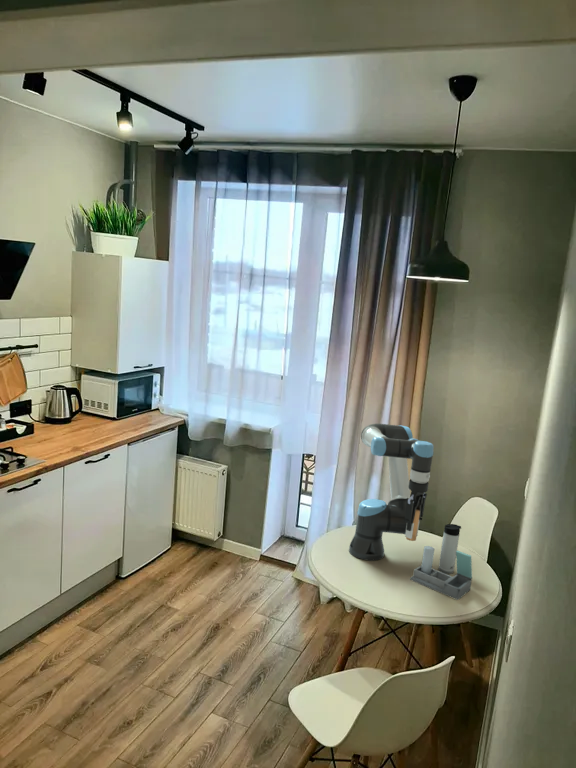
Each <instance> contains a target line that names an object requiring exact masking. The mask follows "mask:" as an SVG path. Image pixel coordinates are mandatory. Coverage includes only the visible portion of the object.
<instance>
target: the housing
mask: <svg viewBox="0 0 576 768" xmlns="http://www.w3.org/2000/svg"><path fill="white" fill-rule="evenodd" d="M421 567H422V564H421V565H419V566H418V567H416V568H414V569H413V575H412V576H410V579H409V580H410V581H412V582H415V583H417V584H418V585H422V586H424V587H426V588H429V589H431V590H434V591H436V592H438V593H441V594H443V595H445V596H448V597H450V598H452V599H455V600H457V601H458V600H460V599H461V598H462V597H464V595H466V594H468V592H469V591H470V590H471V588H472V587H471V586H472V581H473V580H472V579H469V578H466V577H463V576H461V575H458V574H457V573H456V574H455V575H454V576H452V575H451V574H447V573H443V572H441V571H440V570H437V569H435V568H432V570H431V574H430V575H428V574H426V573H423V572H421Z"/></svg>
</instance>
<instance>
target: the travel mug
mask: <svg viewBox="0 0 576 768" xmlns="http://www.w3.org/2000/svg"><path fill="white" fill-rule="evenodd" d="M461 529H462V526H461V525H458V524H453V523H448V524H445V525H444V530H443V534H442V536H443V537H442V542H441V548H440V549H441V550H440V554H439V563H438V571H440V572H442V573H445V574H447V575H451V574H453V573H454V571H455V566H456V561H457V559H456V551H458V545H459V539H460V538H459V537H460V532H461Z"/></svg>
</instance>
